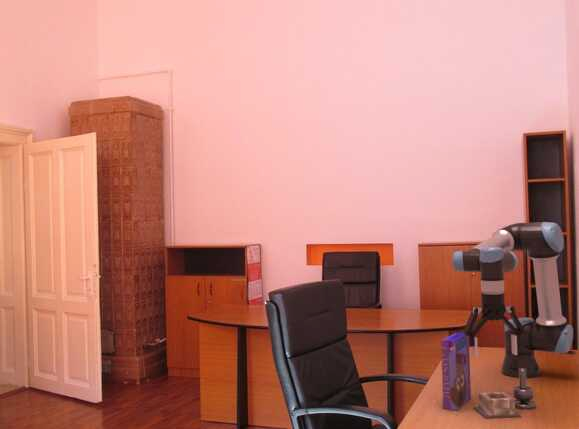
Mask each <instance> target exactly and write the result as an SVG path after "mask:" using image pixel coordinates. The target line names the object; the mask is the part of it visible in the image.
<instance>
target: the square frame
mask: <svg viewBox="0 0 579 429" xmlns="http://www.w3.org/2000/svg"><path fill="white" fill-rule="evenodd" d="M515 400H516V398H514V397H512V396H511V395H509V394H507V392H505V391H497V392H496V391H495V392H494V391H493V392H491V391H490V392H478V407H479V408H480V409H481V410H483V411H484V412H485V413H486V414H487V415H489V416H491V415H514V414H515V411H516V408H515Z"/></svg>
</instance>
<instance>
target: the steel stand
mask: <svg viewBox="0 0 579 429" xmlns="http://www.w3.org/2000/svg"><path fill="white" fill-rule="evenodd" d="M518 380H519V381H518V382H519V384H518V386H513V389H512V390H513V391H512V392H513V393H512V395H513V397H512V398H514V399H515V409H519V410H534V409H536V408H537V402H536V401H534V398H535V397H534V388H532V387H530V386H527V385H528V384H527V377H526V368H519V377H518Z"/></svg>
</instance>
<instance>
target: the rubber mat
mask: <svg viewBox="0 0 579 429" xmlns="http://www.w3.org/2000/svg"><path fill="white" fill-rule="evenodd" d="M473 409H474V411H476V412H477V413H478V414H480V416H482V417H483V418H484V419H506V418H522V415H521V414H520V413H518V412H517V411H516V410H515V414H514V415H491V416H489V415H487V414H486V413H485V412H484V411H483V410H481V409H480V408H479V406H473Z"/></svg>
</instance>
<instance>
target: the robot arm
mask: <svg viewBox="0 0 579 429" xmlns="http://www.w3.org/2000/svg"><path fill="white" fill-rule="evenodd" d="M564 248H565V239H564V233H563V231H562V229H561V227H560V225H558V224H557V223H556V222H548V221H538V222H537V221H536V222H517V223H512V224H509V225H506V226H504V227H501V228H499V229H497V230H496V231H494V232H493V233H492V235H491V237H489V238H487V239H485V240H484V241H481V242H480V243H478V244H477V245H475V246H474V247H473V246H472V248H469V249H467V250H465V251H464V250H460V251H459V250H457V251H455V252H454V253H453V255H452V260H451V262H452V268H453V269H454V270H455V271H457V272H464V273H480V291H481V292H482V293H481V294H480V297H481V298H480V299H481V300H480V301H481V307H475V306H474V307H472V309H471V310H472V311H471V315H470V316H469V319H468V322H467V324H466V326H465V329H464V331H463V333H464V334H465V335H467V336H469V347H471V348H472V356H473V357H475V358H477V357H479V355H478V354H479V353H478V352H479V351H478V337H476V335H477V334H478V333H479V331H480V330H481V329H482V328H483V326H484V325H485V324H486V323H487V322H489V321H490V322H491V321H500V320H501V322H503V324H504V330H503V332H504V351H505V352H504V354H505V355H504V357H503V362H502V363H501V364H502V365H501V374H503V375H505V376H509V377H515V378H519V368H526V378H534V377H535V378H536V377H538V376H539V375H540V372H541V371H540V367H539V364H538V362H537V359H536V355H535V351H538V352H547V353H553V354H554V353H555V354H566V353H568V352H569V351H570V349H571V347H572V344H573V340H574V328H573V325H571V324H568V322H567V318H566V317H565V316H563V314H562V305H561V303H562V302H561V295H560V294H561V292H560V284H559V276H558V267H557V266H558V265H557V259H558V257H559V256H560V252H562V251H563V250H564ZM514 252H527V253H528V255H527V256H528V258H530V259H531V260H532V262H533V273H534V282H535V291H536V299H537V308H538V317H537V318H536V319H535V321H534V318H533V317H519V318H518V316H517V313H516V311H515V307H514V306H513V305H512V306H511V305H508V306H505V305H506V304H505V303H506V302H505V300H506V299H505V298H506V297H505V294H504V292H505V277H504V276H505V275H504V274H508V273H511V272H513V271H515V270H516V269H517V267H518V265H519V259H518V256H517V254H516V253H514ZM506 312H507V313H508V314H509V316H510V317H511V318H510V319H508V318H507V317H506V316H505V313H506ZM480 313H482V315H481V316H480V318H479V320H478V321H477V319H478V316H479V314H480ZM476 321H477V323H476ZM475 323H476V324H475Z"/></svg>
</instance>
